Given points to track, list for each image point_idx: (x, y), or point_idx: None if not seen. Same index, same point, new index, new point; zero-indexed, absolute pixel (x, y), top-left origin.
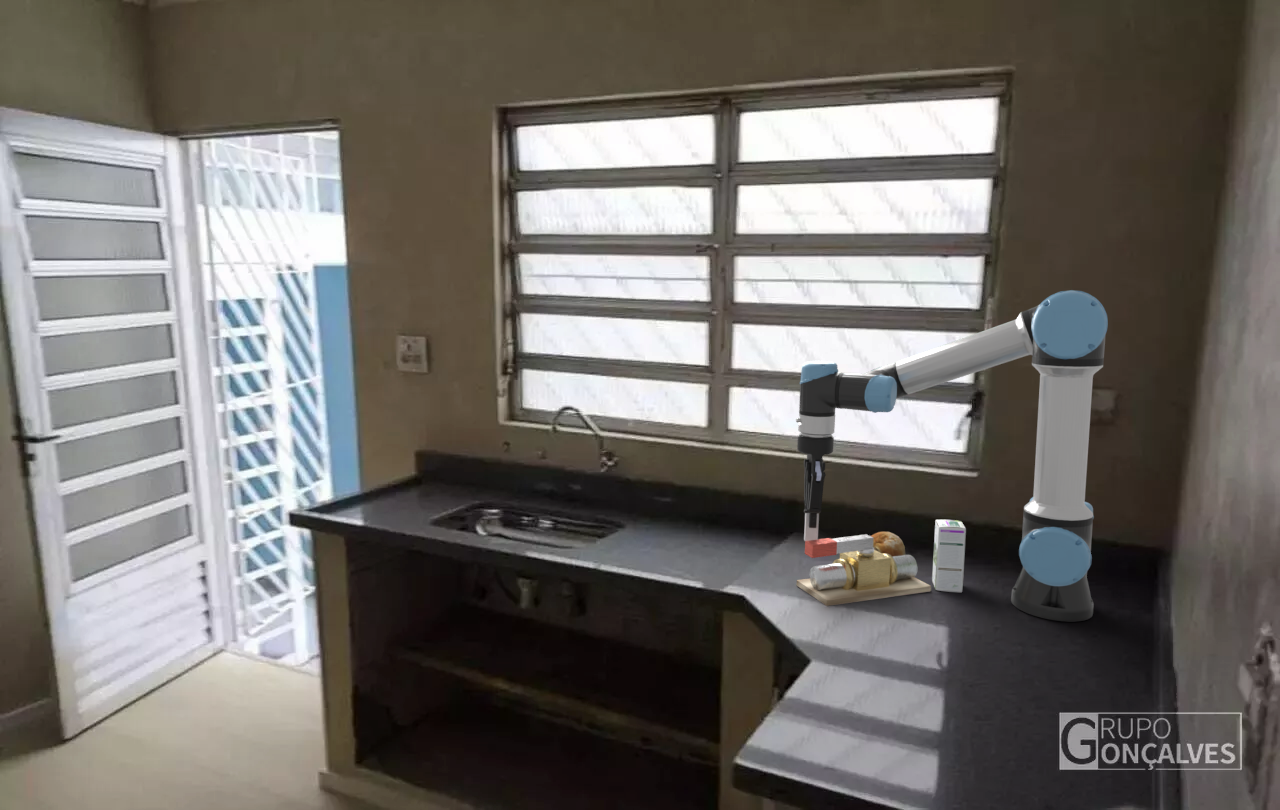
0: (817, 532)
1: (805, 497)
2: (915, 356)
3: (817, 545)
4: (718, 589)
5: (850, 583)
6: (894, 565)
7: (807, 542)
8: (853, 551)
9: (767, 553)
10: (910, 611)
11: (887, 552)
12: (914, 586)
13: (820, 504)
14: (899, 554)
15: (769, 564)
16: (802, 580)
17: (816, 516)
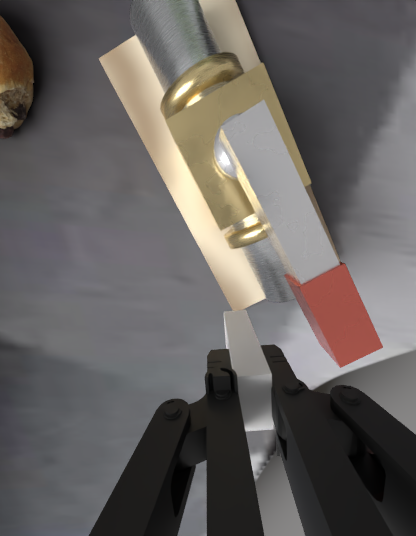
0: (251, 326)
1: (187, 495)
2: None
3: (373, 330)
4: (270, 431)
5: None
6: (238, 61)
7: (352, 361)
8: (214, 187)
9: (57, 356)
10: (355, 79)
11: (14, 62)
12: (236, 32)
13: (409, 438)
14: (5, 23)
15: (124, 353)
16: (234, 302)
17: (296, 378)
